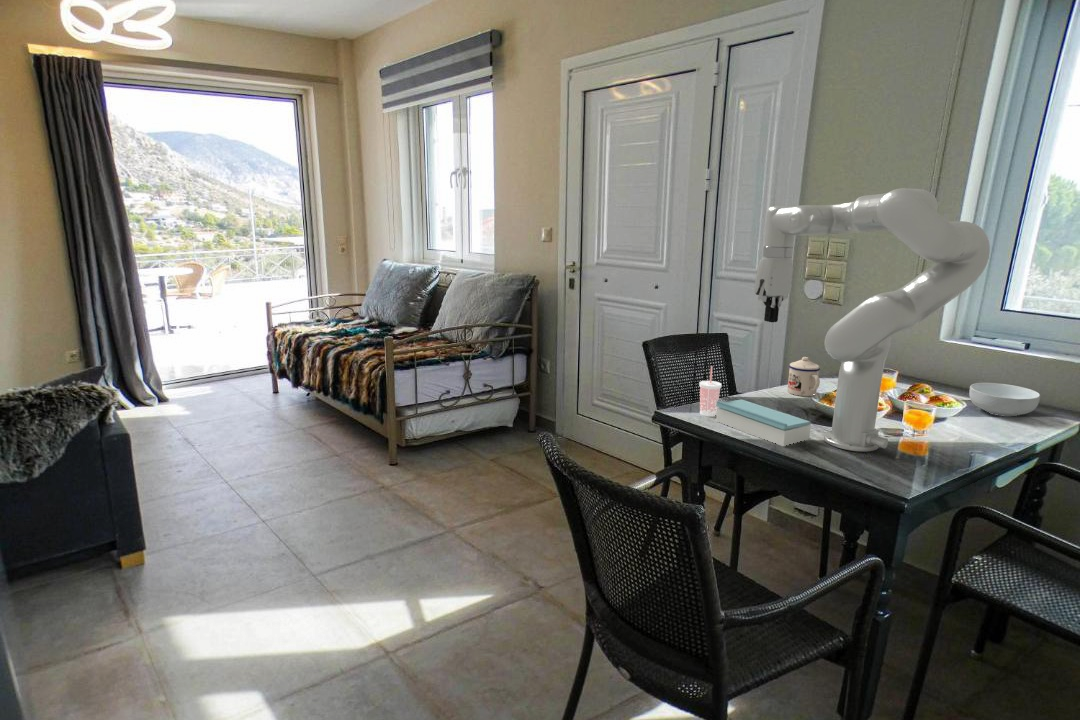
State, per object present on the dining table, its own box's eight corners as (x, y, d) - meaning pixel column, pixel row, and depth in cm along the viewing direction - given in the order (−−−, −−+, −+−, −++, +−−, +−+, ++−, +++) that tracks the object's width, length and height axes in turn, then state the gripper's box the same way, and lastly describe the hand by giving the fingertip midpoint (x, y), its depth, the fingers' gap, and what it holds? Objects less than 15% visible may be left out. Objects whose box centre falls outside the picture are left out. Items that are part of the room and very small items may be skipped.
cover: (810, 424, 163) (811, 419, 162) (784, 429, 157) (784, 424, 157) (742, 401, 181) (742, 397, 180) (716, 406, 175) (716, 401, 175)
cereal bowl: (963, 401, 199) (966, 379, 197) (1028, 409, 191) (1033, 386, 190) (970, 416, 184) (974, 393, 182) (1041, 426, 177) (1046, 401, 175)
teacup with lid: (780, 389, 208) (784, 354, 206) (804, 388, 211) (808, 353, 208) (803, 400, 197) (808, 363, 194) (829, 398, 199) (833, 362, 197)
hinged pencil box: (808, 439, 163) (810, 424, 163) (783, 446, 158) (784, 431, 157) (740, 415, 182) (742, 402, 181) (715, 421, 176) (717, 407, 176)
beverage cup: (720, 412, 184) (724, 365, 181) (717, 418, 179) (721, 369, 176) (699, 409, 187) (702, 362, 184) (695, 415, 181) (698, 367, 178)
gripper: (783, 252, 178) (777, 317, 182) (747, 253, 170) (741, 321, 175) (807, 253, 172) (800, 321, 176) (770, 255, 164) (763, 326, 168)
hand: (770, 321), depth 175 cm, fingers closed
